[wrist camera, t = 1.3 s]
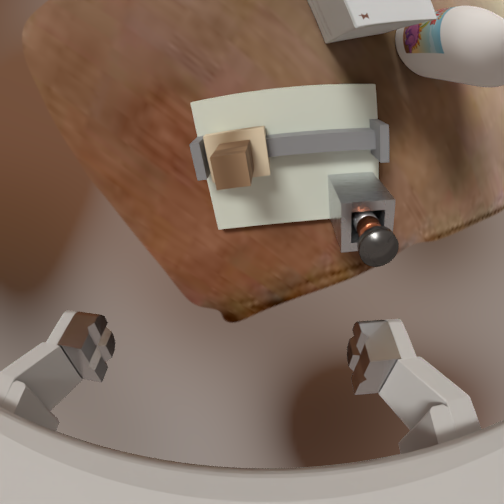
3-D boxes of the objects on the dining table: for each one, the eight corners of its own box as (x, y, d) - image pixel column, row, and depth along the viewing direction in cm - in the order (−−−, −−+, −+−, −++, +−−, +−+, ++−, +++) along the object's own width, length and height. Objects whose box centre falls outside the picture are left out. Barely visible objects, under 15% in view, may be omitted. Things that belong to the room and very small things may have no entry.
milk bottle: (459, 58, 24) (584, 83, 7) (420, 89, 27) (543, 130, 10) (422, 6, 21) (541, -15, 4) (379, 36, 24) (492, 18, 8)
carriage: (264, 122, 30) (261, 138, 23) (270, 165, 33) (269, 194, 26) (209, 130, 31) (190, 149, 24) (217, 172, 34) (202, 202, 27)
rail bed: (372, 83, 28) (386, 86, 24) (374, 210, 36) (386, 229, 32) (193, 101, 30) (181, 107, 26) (220, 224, 39) (213, 244, 35)
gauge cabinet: (369, 168, 33) (395, 199, 26) (368, 210, 36) (390, 250, 29) (325, 171, 34) (340, 203, 27) (328, 214, 37) (341, 254, 30)
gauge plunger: (374, 192, 30) (400, 229, 23) (373, 221, 32) (396, 264, 25) (342, 194, 30) (360, 233, 24) (342, 224, 32) (358, 268, 26)
